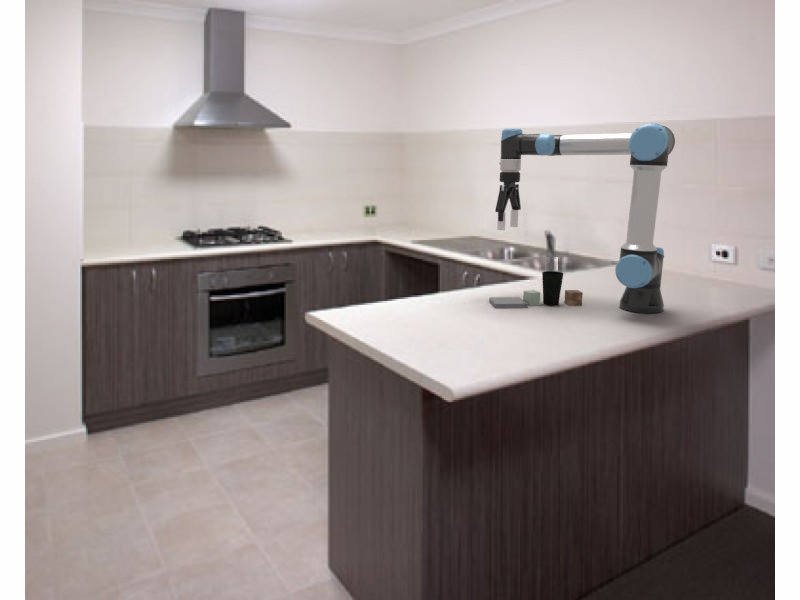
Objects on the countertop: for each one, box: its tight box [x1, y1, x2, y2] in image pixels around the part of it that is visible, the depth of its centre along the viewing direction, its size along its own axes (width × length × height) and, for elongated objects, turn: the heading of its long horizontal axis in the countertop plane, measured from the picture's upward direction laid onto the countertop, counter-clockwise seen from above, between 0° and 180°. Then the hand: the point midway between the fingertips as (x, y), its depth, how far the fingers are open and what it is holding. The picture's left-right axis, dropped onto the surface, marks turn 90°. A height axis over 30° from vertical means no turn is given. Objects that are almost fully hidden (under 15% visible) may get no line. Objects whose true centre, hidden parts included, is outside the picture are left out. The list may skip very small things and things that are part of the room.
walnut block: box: [563, 289, 583, 307], centre depth 238 cm, size 5×5×5 cm
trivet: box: [488, 296, 529, 309], centre depth 237 cm, size 12×11×2 cm
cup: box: [541, 270, 564, 307], centre depth 237 cm, size 8×8×12 cm
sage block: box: [522, 289, 541, 307], centre depth 237 cm, size 4×4×5 cm
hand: (507, 228), depth 241 cm, fingers open, 13 cm apart
